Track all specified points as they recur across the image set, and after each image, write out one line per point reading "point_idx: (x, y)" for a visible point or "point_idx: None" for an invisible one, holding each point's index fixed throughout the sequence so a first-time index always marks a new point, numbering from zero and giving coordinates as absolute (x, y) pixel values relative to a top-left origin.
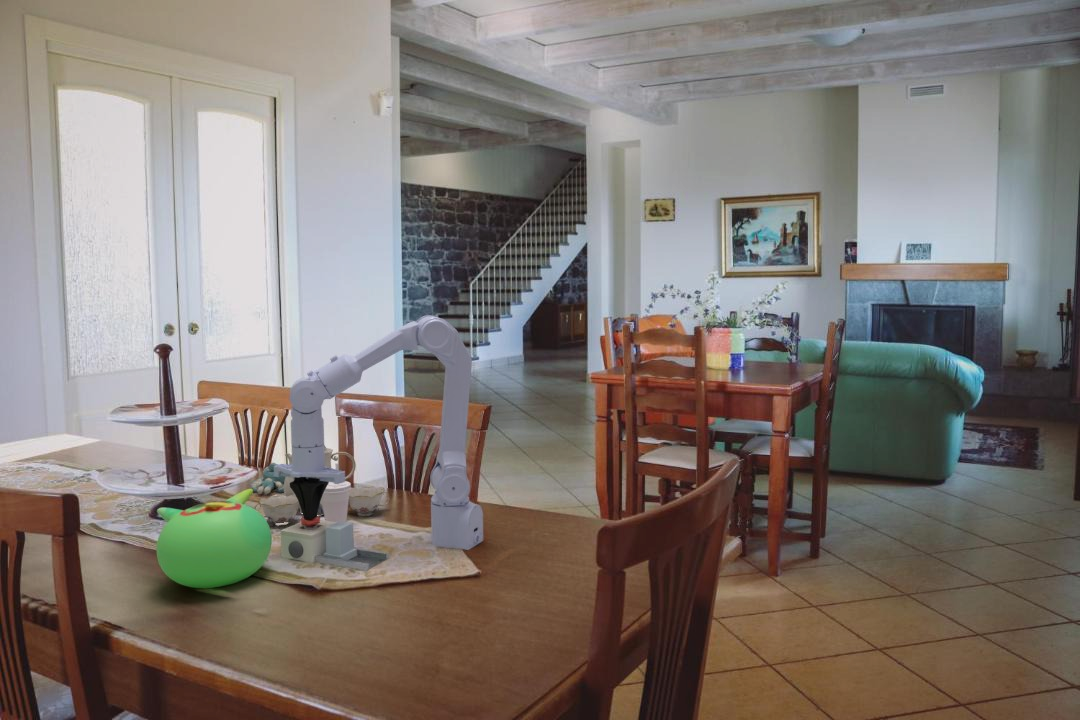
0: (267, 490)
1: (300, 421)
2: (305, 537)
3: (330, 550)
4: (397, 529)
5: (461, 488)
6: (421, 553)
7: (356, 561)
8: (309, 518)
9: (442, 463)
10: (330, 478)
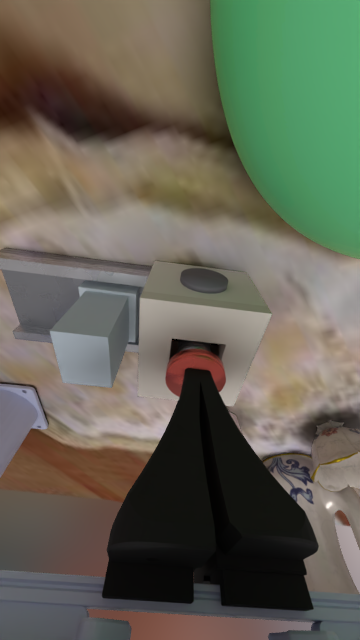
0: None
1: None
2: (168, 296)
3: (112, 299)
4: (135, 437)
5: None
6: (23, 374)
7: (66, 299)
8: (186, 371)
9: None
10: (4, 610)
